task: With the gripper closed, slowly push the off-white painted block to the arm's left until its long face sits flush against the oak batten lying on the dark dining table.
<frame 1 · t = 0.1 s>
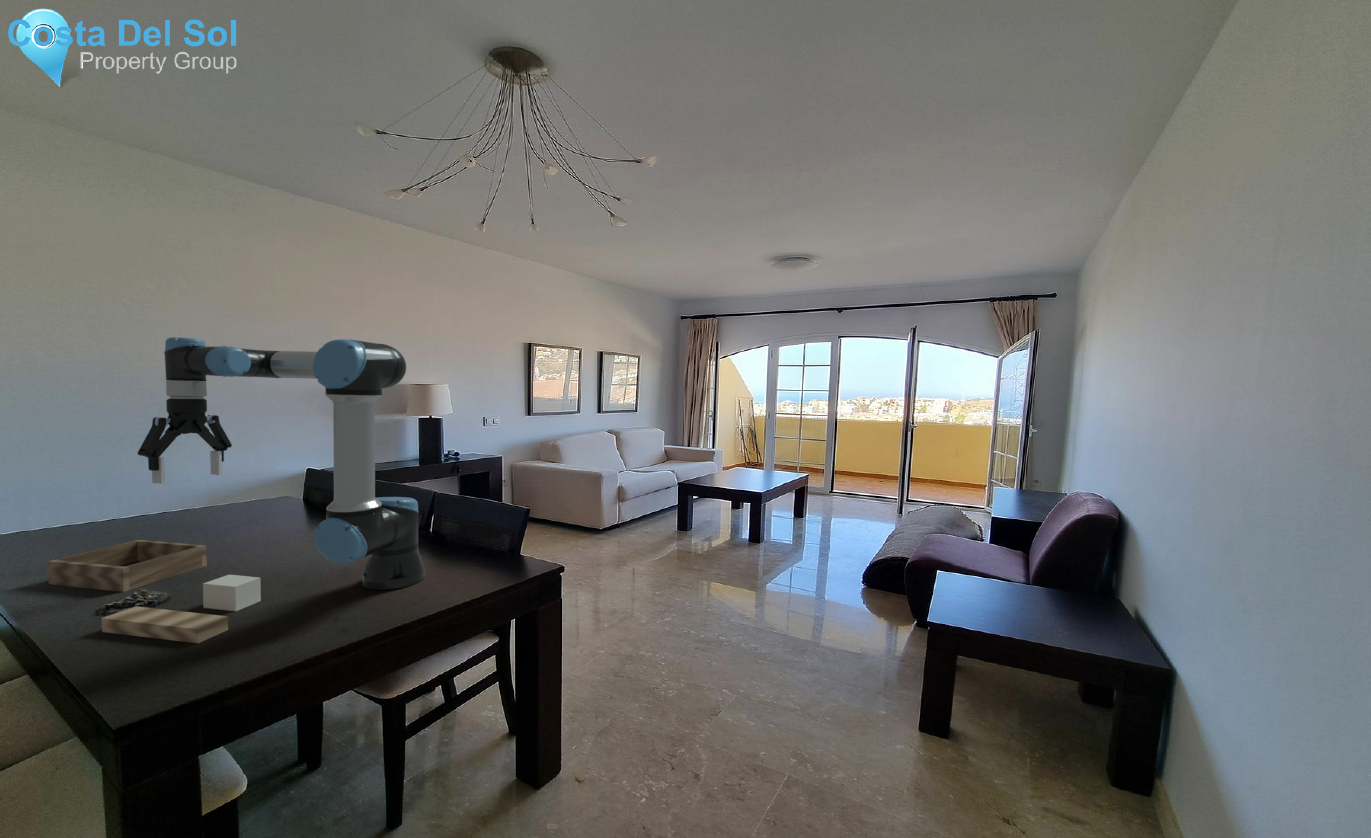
hand: (188, 478, 133), 28 cm above the table, fingers open, 13 cm apart
block: (232, 604, 123), on the table
batten: (165, 630, 109), on the table
crumpled grey lump: (135, 607, 121), on the table
wooden serving tray: (132, 574, 139), on the table
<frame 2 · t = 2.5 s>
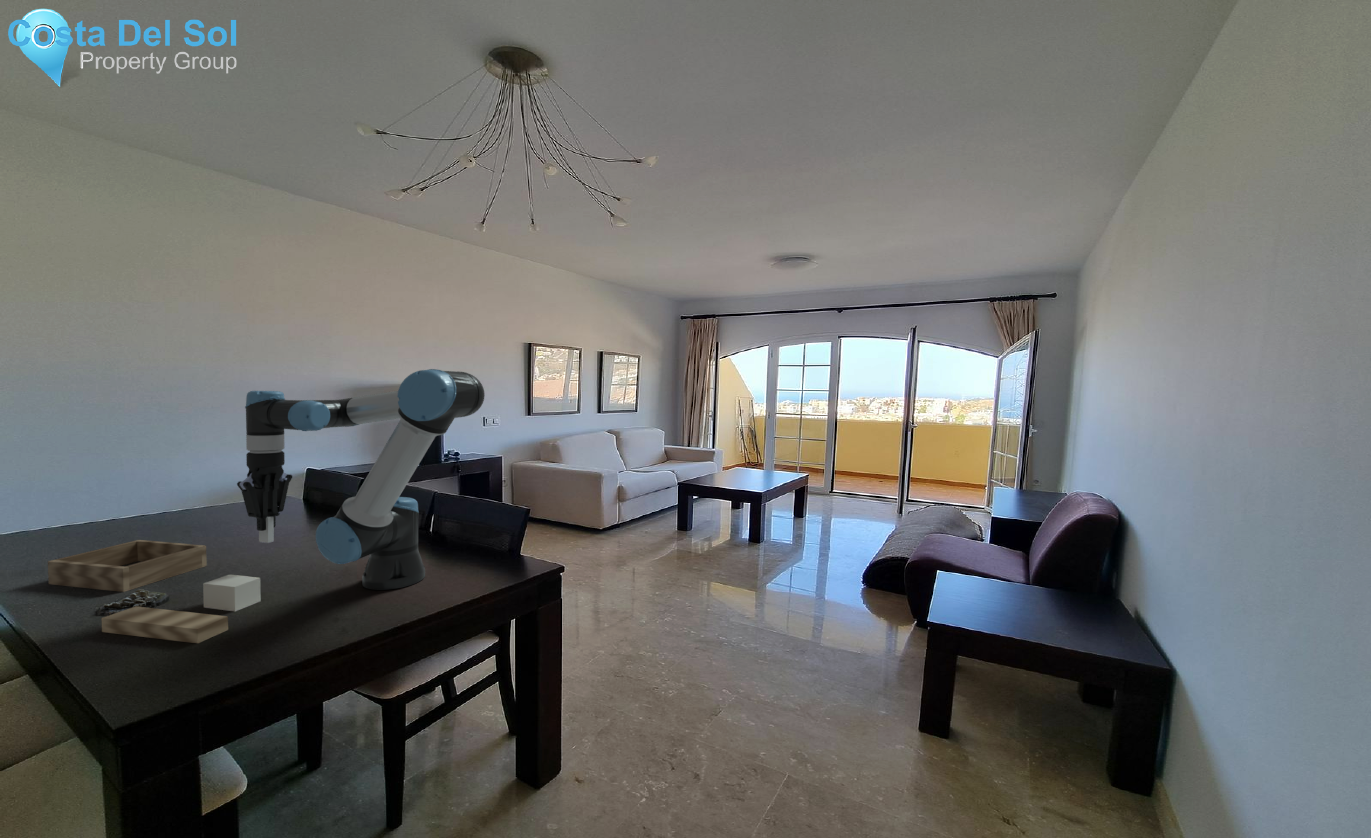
hand: (266, 541, 131), 13 cm above the table, fingers closed
nothing on the table moved.
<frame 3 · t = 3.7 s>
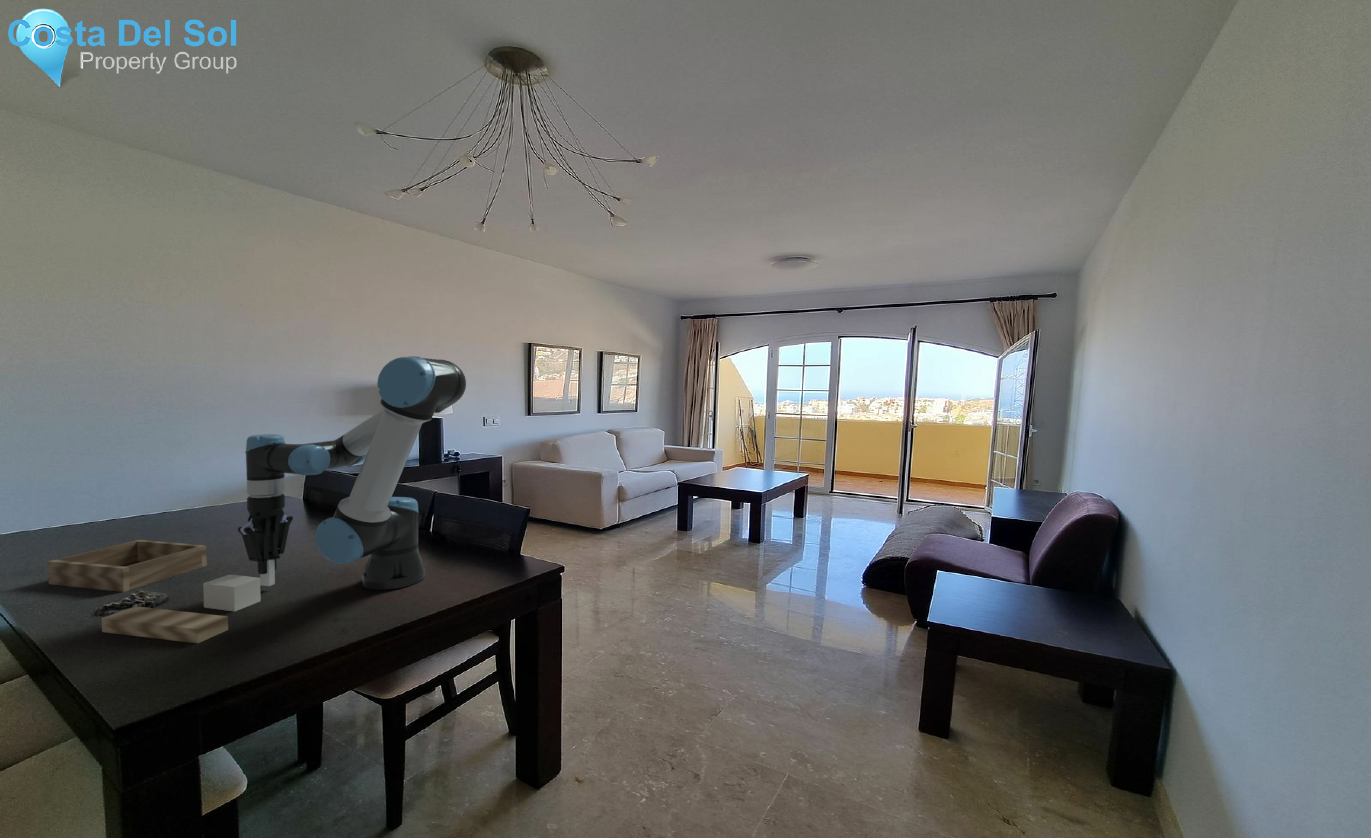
hand: (267, 584, 132), 1 cm above the table, fingers closed
nothing on the table moved.
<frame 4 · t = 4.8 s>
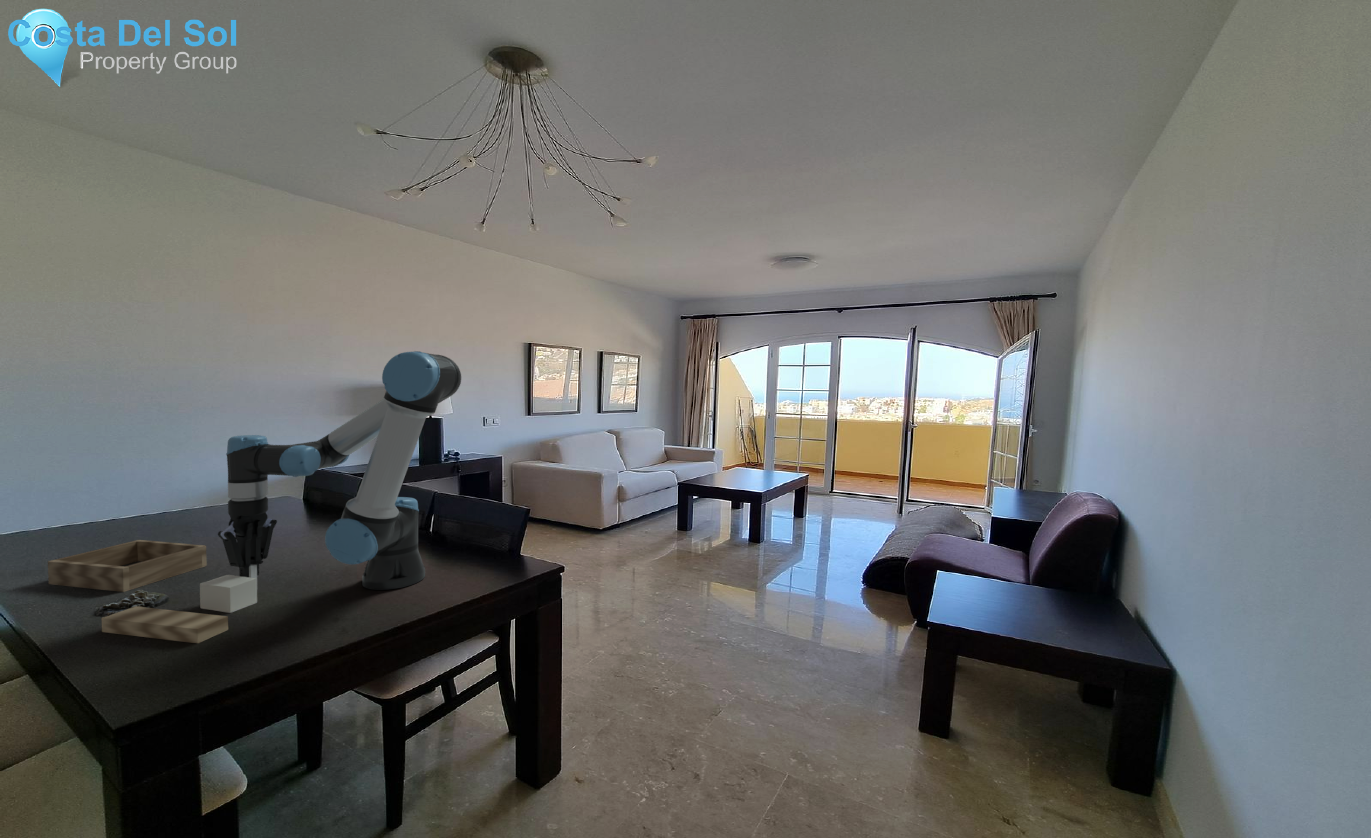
hand: (249, 590, 127), 2 cm above the table, fingers closed
block: (229, 605, 122), on the table, touching gripper
everything else where it was.
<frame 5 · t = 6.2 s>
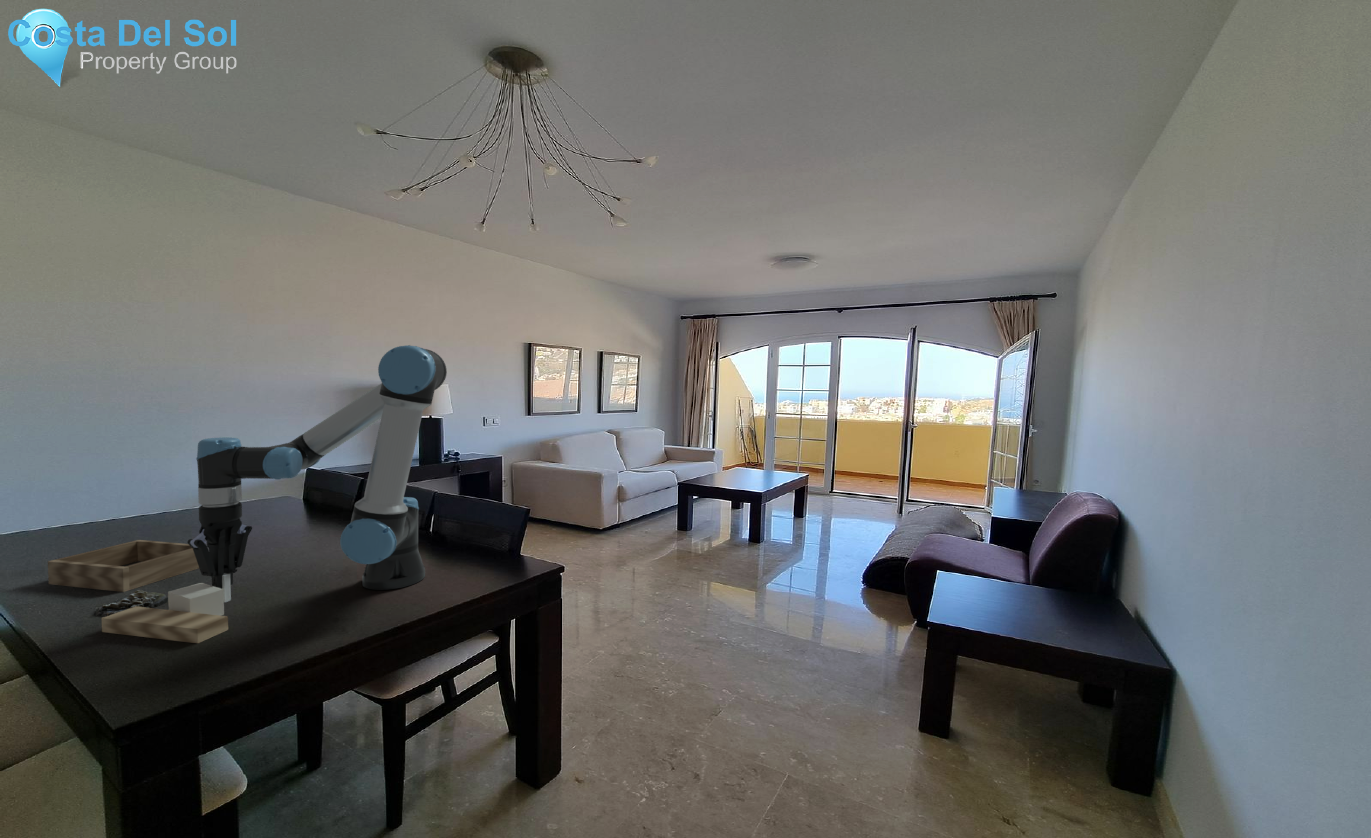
hand: (223, 600, 121), 2 cm above the table, fingers closed
block: (196, 616, 116), on the table, touching batten, gripper
everything else where it was.
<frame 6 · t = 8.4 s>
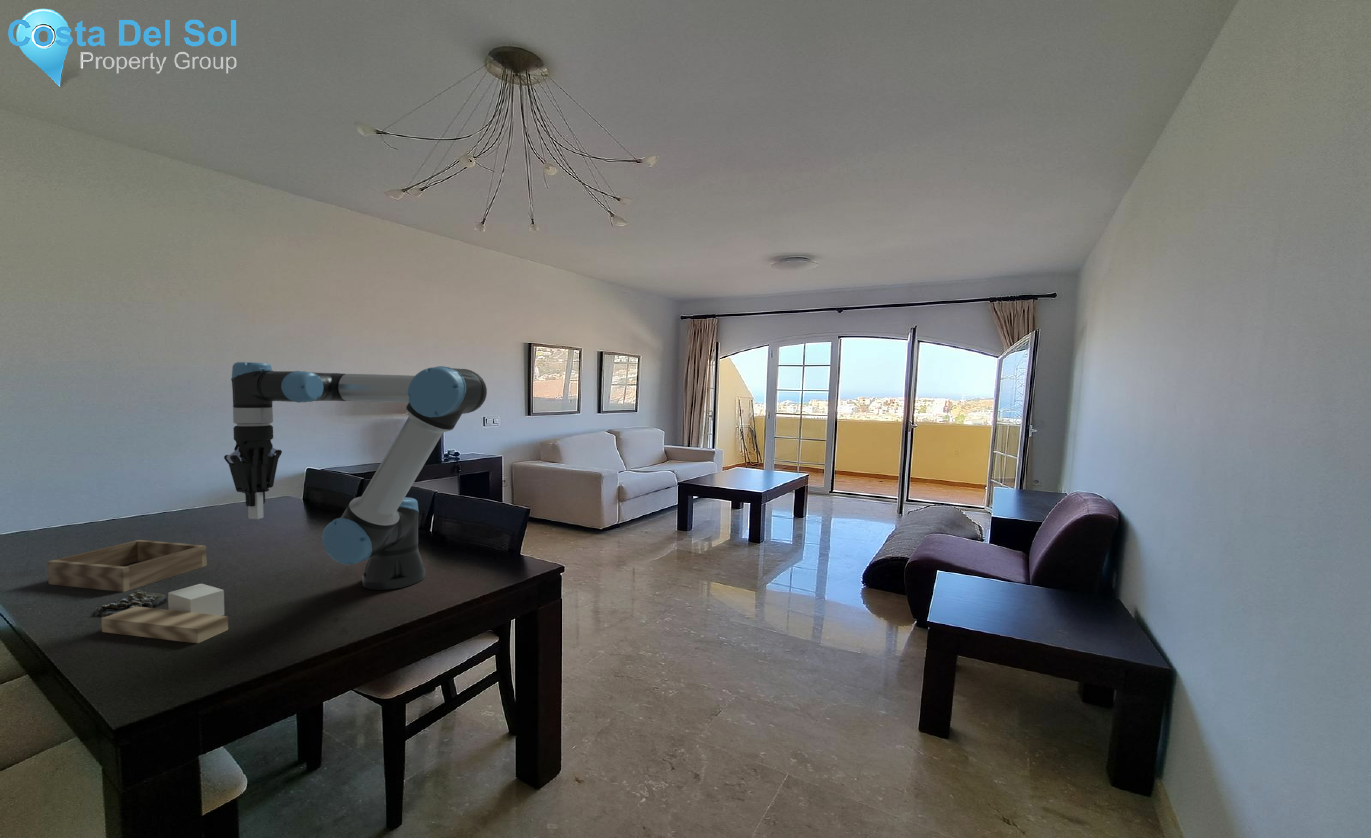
hand: (256, 518, 127), 20 cm above the table, fingers closed
block: (196, 616, 116), on the table
everything else where it was.
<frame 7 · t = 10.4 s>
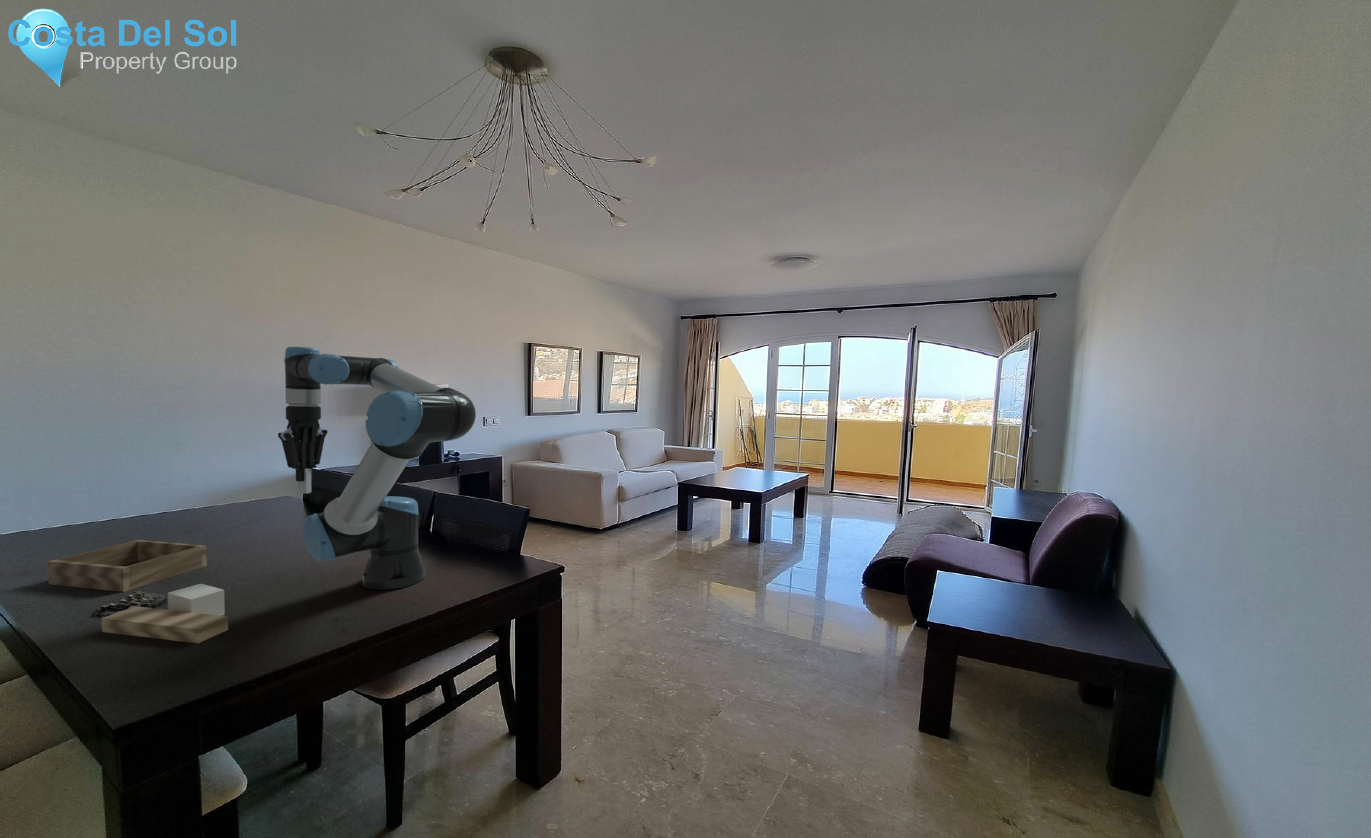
hand: (304, 492, 137), 24 cm above the table, fingers closed
at the end: block inside the target area on the table beside the batten (1.2 cm from its centre), on the table; block tilted 0° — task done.
